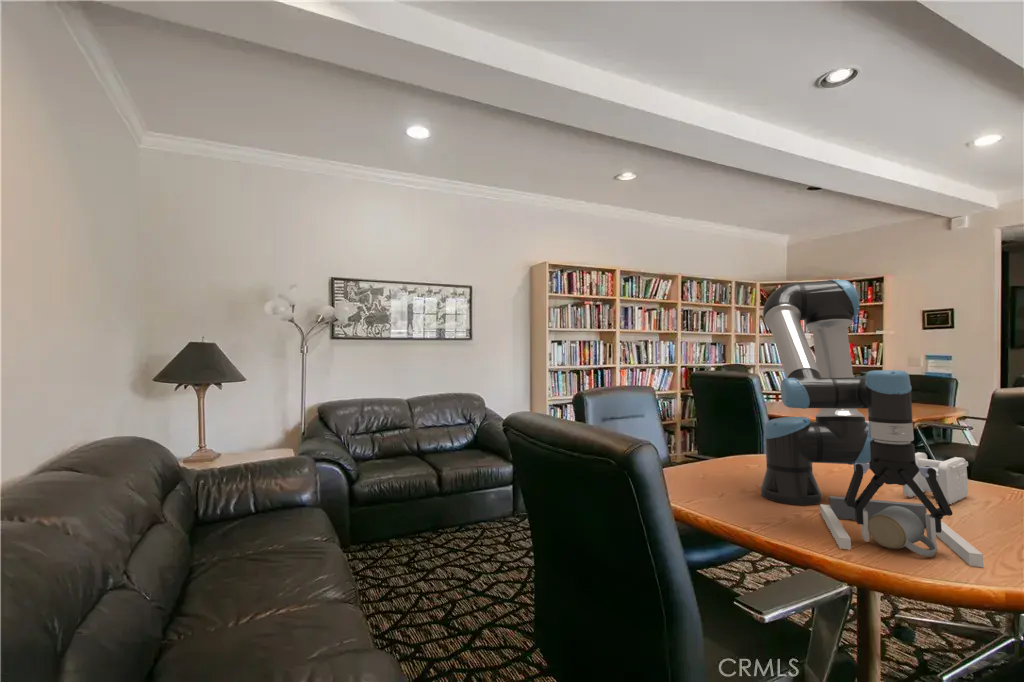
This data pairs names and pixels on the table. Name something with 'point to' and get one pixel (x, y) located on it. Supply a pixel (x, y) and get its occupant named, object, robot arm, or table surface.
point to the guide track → (875, 506)
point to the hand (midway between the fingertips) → (898, 543)
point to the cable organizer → (943, 477)
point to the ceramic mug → (899, 530)
